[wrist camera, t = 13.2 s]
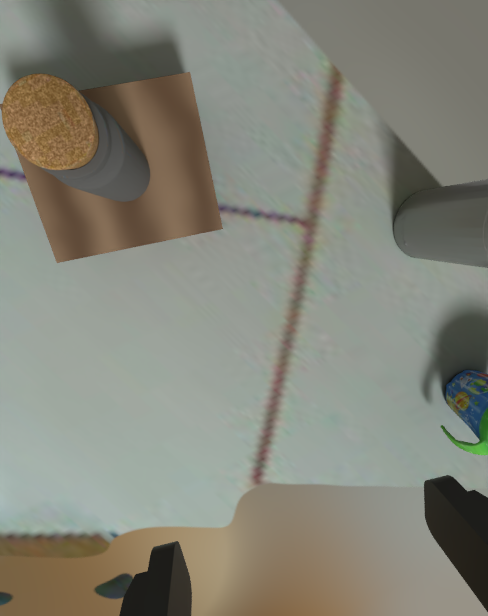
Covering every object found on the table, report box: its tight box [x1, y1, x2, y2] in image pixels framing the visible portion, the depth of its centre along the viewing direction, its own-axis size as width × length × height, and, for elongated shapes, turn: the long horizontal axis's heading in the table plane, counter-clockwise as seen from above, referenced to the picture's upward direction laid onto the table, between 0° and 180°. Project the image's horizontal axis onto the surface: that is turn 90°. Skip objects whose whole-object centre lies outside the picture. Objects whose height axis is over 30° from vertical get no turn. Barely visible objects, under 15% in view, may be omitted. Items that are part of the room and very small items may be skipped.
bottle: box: [2, 74, 150, 202], centre depth 24 cm, size 6×6×15 cm
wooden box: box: [0, 72, 223, 263], centre depth 34 cm, size 18×15×6 cm
